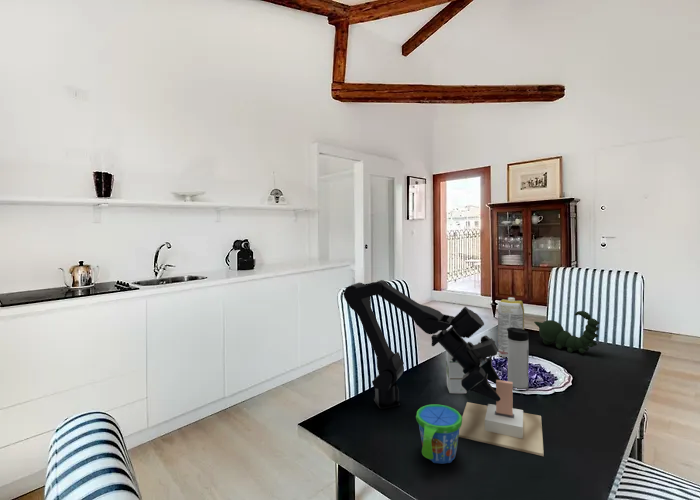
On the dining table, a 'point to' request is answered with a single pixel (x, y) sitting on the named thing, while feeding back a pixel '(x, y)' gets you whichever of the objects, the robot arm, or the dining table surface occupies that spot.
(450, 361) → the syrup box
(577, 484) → the dining table surface
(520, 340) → the travel mug
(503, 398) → the salmon pink flat block
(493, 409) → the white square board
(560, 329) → the toy figurine
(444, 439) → the snack cup
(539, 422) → the base board
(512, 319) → the juice carton
